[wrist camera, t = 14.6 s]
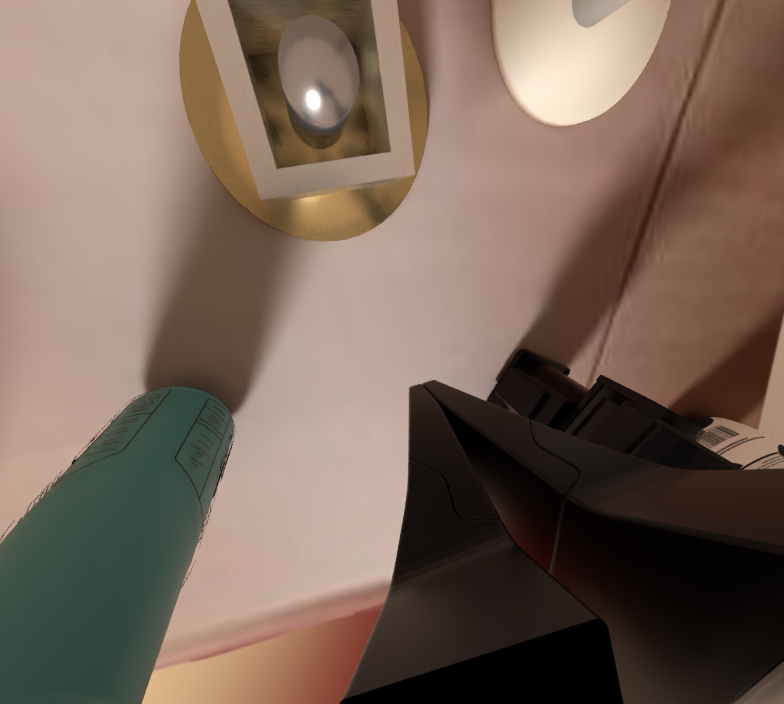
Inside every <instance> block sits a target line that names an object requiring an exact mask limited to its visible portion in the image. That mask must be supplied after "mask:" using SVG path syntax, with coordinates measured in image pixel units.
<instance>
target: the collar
mask: <svg viewBox="0 0 784 704" xmlns="http://www.w3.org/2000/svg"><path fill="white" fill-rule="evenodd" d="M196 3H197V6H198V9H199V12H200V15H201V18H202V21H203V24H204V27H205V31H206V34H207V37H208V40H209V43H210V46H211V49H212V52H213V55H214V58H215V61H216V64H217V67H218V70H219V73H220V77H221V80H222V83H223V86H224V89H225V92H226V95H227V98H228V101H229V104H230V107H231V110H232V113H233V116H234V119H235V123H236V126H237V129H238V132H239V135H240V138H241V141H242V144H243V147H244V150H245V153H246V156H247V159H248V162H249V165H250V169H251V172H252V175H253V178H254V181H255V184H256V187H257V190H258V193H259V196H260V199H261V200H263V201H265V202H268V203H271V204H273V203H279V202H285V201H291V200H297V199H303V198H309V197H314V196H320V195H326V194H332V193H338V192H344V191H350V190H356V189H362V188H368V187H374V186H380V185H386V184H392V183H395V182H398V181H400V180H402V179H405V178H407V177H410V176H412V175H415V169H414V159H413V150H412V140H411V130H410V121H409V111H408V102H407V92H406V82H405V73H404V63H403V53H402V44H401V34H400V25H399V15H398V5H397V0H196ZM307 15H314V16H319V17H323V18H325V19H327V20H329V21H330V22H332V23H333V24H335V25H336V26H337V27H338V28H339V29H340V30H341V31H342V32H343V33H344V34H345V36H346V37H347V39H348V40H349V42H350V44H351V46H355V51H356V57H357V62H358V68H359V76H360V82H361V89H362V95H363V101H364V108H365V114H366V120H367V127H368V133H369V139H370V145H371V152H372V155H366V156H360V157H353V158H346V159H340V160H333V161H327V162H320V163H313V164H307V165H300V166H293V167H287V168H281V167H280V163H279V160H278V156H277V153H276V149H275V146H274V142H273V139H272V135H271V132H270V128H269V125H268V121H267V118H266V114H265V111H264V107H263V104H262V100H261V97H260V93H259V90H258V86H257V83H256V79H255V76H254V72H253V69H252V65H251V62H250V58H249V55H256V54H267V53H278V48H279V43H280V40H281V37H282V35H283V33H284V31H285V30H286V28H287V27H288V26H289V25H290V24H291V23H292V22H293V21H294V20H296V19H298V18H300V17H303V16H307Z"/></svg>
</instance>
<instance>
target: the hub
mask: <svg viewBox="0 0 784 704" xmlns="http://www.w3.org/2000/svg"><path fill="white" fill-rule="evenodd" d="M399 25H400V34H401V44H402V53H403V63H404V73H405V82H406V92H407V102H408V111H409V121H410V130H411V140H412V150H413V159H414V169H415V175H412V176H410V177H407V178H405V179H402V180H400V181H398V182H395V183H392V184H386V185H380V186H374V187H368V188H362V189H356V190H350V191H344V192H338V193H332V194H326V195H320V196H314V197H309V198H303V199H297V200H291V201H285V202H279V203H273V204H271V203H268V202H265V201H263V200H261V199H260V196H259V193H258V190H257V187H256V184H255V181H254V178H253V175H252V172H251V169H250V165H249V162H248V159H247V156H246V153H245V150H244V147H243V144H242V141H241V138H240V135H239V132H238V129H237V126H236V123H235V119H234V116H233V113H232V110H231V107H230V104H229V101H228V98H227V95H226V92H225V89H224V86H223V83H222V80H221V77H220V73H219V70H218V67H217V64H216V61H215V58H214V55H213V52H212V49H211V46H210V43H209V40H208V37H207V34H206V31H205V27H204V24H203V21H202V18H201V15H200V12H199V9H198V6H197V3H196V0H191V2H190V5H189V7H188V10H187V13H186V17H185V21H184V25H183V29H182V35H181V44H180V53H179V54H180V80H181V87H182V94H183V100H184V104H185V108H186V112H187V116H188V119H189V122H190V125H191V127H192V130H193V133H194V136H195V138H196V140H197V142H198V145H199V147H200V149H201V151H202V153H203V155H204V157H205V159H206V160H207V162H208V163H209V165H210V167H211V168H212V170H213V171H214V173H215V175H216V176H217V177H218V178H219V180H220V181H221V182H222V184H223V185H224V186H225V188H226V189H227V190H228V191H229V192H230V193H231V194H232V195H233V196H234V197H235V198H236V200H237V201H238V202H239V203H240V204H242V205H243V206H244V207H245V208H246V209H247V210H249V211H250V212H251V213H252V214H253V215H255V216H256V217H258V218H259V219H261V220H262V221H264V222H265V223H267V224H268V225H270V226H272V227H274V228H276V229H278V230H280V231H282V232H285V233H287V234H290V235H293V236H296V237H300V238H304V239H308V240H317V241H337V240H343V239H349V238H352V237H355V236H358V235H361V234H363V233H365V232H367V231H369V230H371V229H373V228H374V227H376V226H377V225H379V224H380V223H382V222H383V221H384V220H385V219H387V218H388V217H389V216H390V215H391V214H392V213H393V212H394V211H395V210H396V209H397V207H398V206H399V205H400V204H401V203H402V201H403V200H404V198H405V197H406V195H407V194H408V192H409V190H410V188H411V186H412V184H413V182H414V180H415V178H416V176H417V173H418V170H419V167H420V164H421V161H422V157H423V152H424V148H425V141H426V133H427V102H426V92H425V86H424V80H423V75H422V71H421V68H420V64H419V60H418V57H417V54H416V51H415V49H414V46H413V43H412V41H411V38H410V36H409V34H408V32H407V30H406V28H405V26H404V24H403V22H402V20H401V18H400V17H399ZM249 58H250V62H251V65H252V69H253V72H254V76H255V79H256V83H257V86H258V90H259V93H260V97H261V100H262V104H263V107H264V111H265V114H266V118H267V121H268V125H269V128H270V132H271V135H272V139H273V142H274V146H275V149H276V153H277V156H278V160H279V163H280V167H281V168H287V167H293V166H300V165H307V164H313V163H320V162H327V161H333V160H340V159H346V158H353V157H360V156H366V155H372V152H371V145H370V139H369V133H368V127H367V120H366V114H365V108H364V101H363V95H362V89H361V82H360V76H359V68H358V62H357V57H356V51H355V46H351V44H350V42H349V40H348V39H347V37H346V36H345V34H344V33H343V32H342V31H341V30H340V29H339V28H338V27H337V26H336V25H335V24H333V23H332V22H330V21H329V20H327V19H325V18H323V17H319V16H314V15H307V16H303V17H300V18H298V19H296V20H294V21H293V22H292V23H291V24H290V25H289V26H288V27H287V28H286V30H285V31H284V33H283V35H282V37H281V40H280V43H279V48H278V53H267V54H256V55H249Z"/></svg>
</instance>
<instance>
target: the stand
mask: <svg viewBox="0 0 784 704" xmlns="http://www.w3.org/2000/svg"><path fill="white" fill-rule="evenodd" d="M670 3H671V0H492V7H491V22H492V36H493V43H494V49H495V55H496V59H497V63H498V66H499V70H500V73H501V75H502V78H503V81H504V83H505V85H506V87H507V89H508V91H509V93H510V95H511V96H512V98H513V99H514V101H515V102H516V103H517V105H518V106H519V107H520V108H521V109H522V110H523V111H524V112H525V113H526V114H527V115H529V116H530V117H531V118H533V119H534V120H536V121H538V122H540V123H542V124H545V125H549V126H555V127H564V126H571V125H575V124H578V123H581V122H584V121H587V120H590V119H592V118H594V117H596V116H598V115H600V114H602V113H603V112H605V111H606V110H608V109H609V108H611V107H612V106H613V105H614V104H615V103H616V102H617V101H619V100H620V99H621V98H622V97H623V95H624V94H625V93H626V92H627V91H628V90H629V89H630V88H631V86H632V85H633V84H634V82H635V81H636V80H637V78H638V77H639V75H640V74H641V72H642V71H643V69H644V67H645V66H646V64H647V62H648V60H649V58H650V57H651V55H652V53H653V51H654V48H655V46H656V44H657V42H658V39H659V37H660V34H661V32H662V29H663V26H664V23H665V20H666V17H667V13H668V10H669V6H670Z"/></svg>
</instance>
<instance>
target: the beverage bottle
mask: <svg viewBox="0 0 784 704" xmlns="http://www.w3.org/2000/svg"><path fill="white" fill-rule="evenodd" d="M144 394H145V393H144ZM139 396H140V395H139ZM137 397H138V396H137ZM135 398H136V397H135ZM130 401H131V400H130ZM125 405H126V404H125ZM119 412H120V411H119ZM114 418H115V417H114ZM114 418H113V420H114ZM113 420H112V422H111V424H110V425H109V426H108V427H107V428H106V429H105V430H104V431H103V433H102V434H101V435H100V436H99V437H98V438H97V439H96V440H95V441H94V442H93V443H92V444H91V445H90V446H89V447H88V448H87V449H86V450H85V452H84V453H83V454H82V455H81V456H80V457H78V458H77V459H76V460H75V459H74V460H73V462H72V464H71V466H70V467H69V468H68V470H67V472H65V473H64V474H63V475H62V476H61V477H60V478H58V480H57V481H56V482H55V483H54V482H53V483H54V484H53V483H52V484H53V485H52V486H51V488H50V490H49V491H48V492H47V490H48V489H49V488H48V487H49V486H48V485H49V484H48V485H47V486H48V487H47V490H46V492H45V493H46V494H45V493H44V492H43V493H44V496H43V497H42V498H41V496H42V495H41V496H40V495H38V497H39V496H40V498H41V499H40V498H39V501H38V502H37V503H36V504H35V503H34V504H35V506H34V507H33V508H32V509H31V510H30V511H29V512H27V514H25V516H24V517H23V518H22V517H21V518H22V519H21V518H20V519H21V520H20V519H19V520H20V521H19V522H18V524H17V525H16V526H15V527H14V528H13V529H12V530H11V532H10V533H9V534H8V535H7V536H6V537H5V539H4V540H3V541H2V543H1V544H0V704H142V701H143V698H144V695H145V692H146V689H147V686H148V683H149V680H150V677H151V674H152V672H153V669H154V666H155V663H156V660H157V657H158V654H159V651H160V648H161V645H162V642H163V640H164V637H165V634H166V631H167V628H168V625H169V622H170V619H171V616H172V613H173V610H174V607H175V604H176V602H177V599H178V596H179V593H180V590H181V588H182V586H183V585H184V584H183V581H184V578H185V575H186V573H187V571H188V568H189V566H190V564H191V561H192V558H193V555H194V552H195V549H196V546H197V543H199V541H200V540H199V537H200V534H201V531H202V533H203V530H204V529H203V527H204V526H205V525H204V522H205V520H206V519H207V518H206V516H207V513H209V512H208V510H209V507H210V504H211V501H212V498H213V497H214V496H215V492H216V489H217V486H218V483H219V480H220V477H221V479H222V476H223V473H224V470H225V467H226V464H227V460H228V457H229V455H230V451H231V449H232V446H233V445H231V448H230V449H229V446H230V443H231V440H232V437H233V436H234V435H233V433H234V427H235V425H233V423H234V422H233V419H232V416H231V414H230V412H229V410H228V409H227V407H226V406H225V405H224V404H223V403H222V402H221V401H220V400H219V399H217V398H216V397H214V396H213V395H211V394H209V393H207V392H205V391H202V390H199V389H195V388H190V387H182V386H173V387H165V388H160V389H157V390H154V391H150V392H149V393H148V392H147V394H145V395H143V396H141V397H139V398H137V399H136V400H134V401H132V402H131V403H130V404H129V405H128V406H127V407H126V408H125V409H124V410H123V411H122V412H121V414H120V415H119V416H118V417H116V419H115V420H114V421H113ZM110 421H111V420H110ZM103 428H104V427H103ZM103 428H102V429H103ZM102 429H101V430H102ZM101 430H100V431H101ZM100 431H99V432H100ZM99 432H98V433H99ZM98 433H97V434H98ZM97 434H96V435H97ZM96 435H95V436H96ZM97 436H98V435H97ZM94 439H95V437H94V438H93V440H94ZM93 440H92V441H93ZM92 441H91V442H92ZM233 442H234V441H233ZM83 449H84V448H83ZM228 449H229V450H230V451H229V453H228ZM227 453H228V454H227ZM78 454H79V453H78ZM78 454H77V455H78ZM227 455H228V457H227ZM226 457H227V459H226V461H225V458H226ZM75 458H76V457H75ZM224 461H225V462H226V463H225V462H224ZM224 465H225V466H224ZM223 468H224V470H223ZM222 471H223V473H222ZM61 472H62V471H61ZM221 474H222V475H221ZM59 476H60V475H59ZM59 476H58V477H59ZM56 477H57V476H56ZM55 479H56V478H55ZM51 482H52V481H51ZM44 490H45V489H44ZM44 490H43V491H44ZM43 493H42V494H43ZM214 499H215V497H214ZM36 500H37V499H36ZM36 500H35V501H36ZM214 501H215V500H214ZM31 503H32V502H31ZM31 503H30V504H31ZM30 504H29V505H30ZM29 505H28V506H29ZM210 509H211V507H210ZM28 510H29V509H28ZM28 510H27V511H28ZM209 511H211V510H209ZM210 513H211V512H210ZM207 517H208V516H207ZM208 521H209V520H207V522H208ZM13 522H14V521H13ZM13 522H12V523H13ZM207 522H206V523H207ZM206 523H205V524H206ZM207 524H208V523H207ZM207 524H206V525H207ZM203 525H204V526H203ZM10 526H11V525H10ZM10 526H9V527H10ZM7 530H8V529H7ZM7 530H6V531H7ZM4 534H5V533H4ZM4 534H3V535H4ZM203 534H204V533H203ZM202 536H203V535H202ZM2 537H3V536H2ZM2 537H1V539H2ZM1 539H0V540H1ZM200 539H201V540H202V537H201V538H200ZM198 540H199V541H198ZM200 544H201V543H200ZM199 549H200V548H199ZM195 561H196V560H195ZM192 568H193V567H192ZM191 570H192V569H191ZM190 572H191V571H190ZM189 574H190V573H189ZM188 576H189V575H188ZM186 579H187V578H186ZM185 581H186V580H185ZM184 583H185V582H184ZM182 584H183V585H182Z"/></svg>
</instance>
